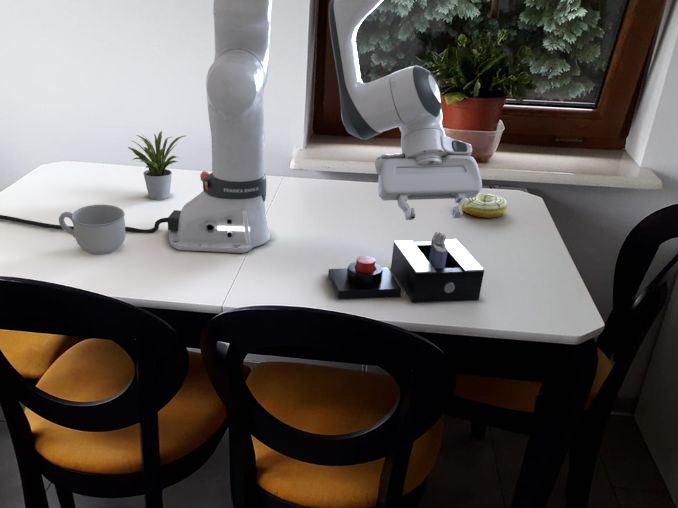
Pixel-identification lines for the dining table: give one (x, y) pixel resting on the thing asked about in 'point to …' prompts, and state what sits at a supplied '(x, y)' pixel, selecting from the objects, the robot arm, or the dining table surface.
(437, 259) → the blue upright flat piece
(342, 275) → the control block
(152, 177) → the house plant
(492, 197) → the decorated donut
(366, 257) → the stop button
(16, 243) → the dining table surface
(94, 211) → the teacup
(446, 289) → the glossy black box
